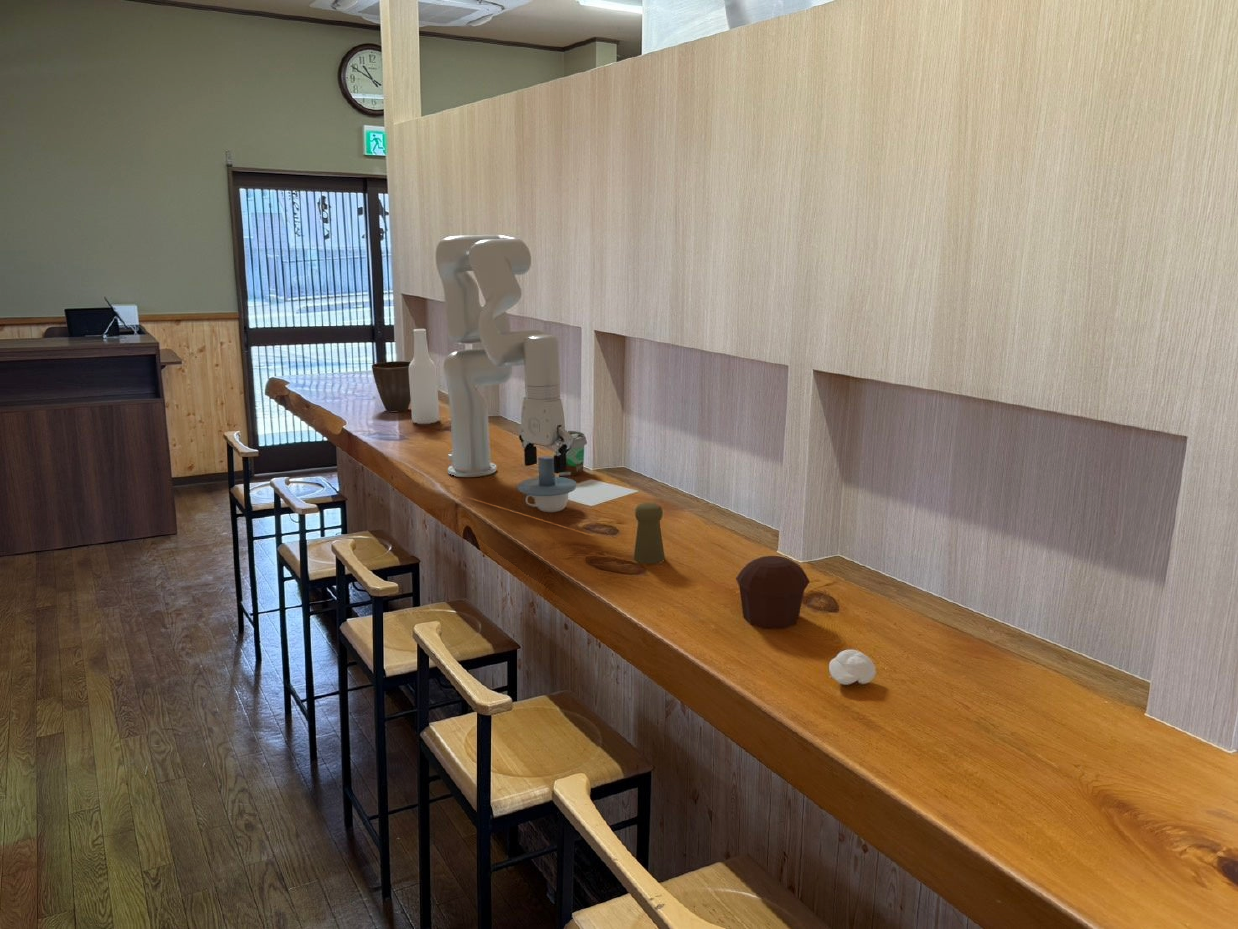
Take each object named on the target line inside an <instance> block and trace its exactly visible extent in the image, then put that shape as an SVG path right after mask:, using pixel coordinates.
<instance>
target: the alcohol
mask: <svg viewBox="0 0 1238 929" xmlns="http://www.w3.org/2000/svg"><path fill="white" fill-rule="evenodd" d="M413 337H414V338H413V339H414V340H413V358H412V360H411V361H410V362H411V363H410V365H409V384H410V398H411V401H410V410H411V412H410V413H411V420H412V422H413V423H414V424H415V423H417V424H416V425H432V424H431V423H433V424H435V423H436V422H437V421H438V422H439V420H440V405H439V404H440V403H439V392H438V390H439V389H438V375H437V374H438V373H437V366H436V363H435V362H434V361H433V360H432V359H431V357H430V353H429V347H428V339H427V330H426V329H425V328H416V329H413ZM438 422H437V423H438ZM437 423H436V424H437Z"/></svg>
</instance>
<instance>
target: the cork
mask: <svg viewBox="0 0 1238 929" xmlns="http://www.w3.org/2000/svg"><path fill="white" fill-rule="evenodd" d="M634 516H635V519H636V520H637V527H636V528H637V529H636V536H635V545H634V553H633V561H634V560H635V561H636V562H638V563H641V564H640V565H643V564H655V565H657V564H656V563H660V562H662V561H663V560H666V559H665V550H664V543H663V535H662V528H661V523H660V522H661V520H662V519H663V508H662V506H661V505H660V504H658V503H657V502H655V503H654V502H643V503H640V504H638V505H636V507H635V511H634ZM635 561H634V562H635ZM636 562H635V563H636ZM638 563H637V564H638ZM662 563H663V562H662ZM660 564H661V563H660Z"/></svg>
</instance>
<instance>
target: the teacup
mask: <svg viewBox="0 0 1238 929" xmlns="http://www.w3.org/2000/svg"><path fill="white" fill-rule="evenodd" d="M529 497H532V498H533V499H534V503H530V502H528V501H529V500H528V499H529ZM568 502H569V500H568V493H566V494H562V495H555V496H533V495H527V494H526V497H525V503H526V504H527V505H528V506H530V507H535V508H537V509H538V510H539V511H541V512H543V513H556V512H560V511H562V510H565V508H566V507H567V505H568Z"/></svg>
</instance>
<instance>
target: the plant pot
mask: <svg viewBox="0 0 1238 929" xmlns="http://www.w3.org/2000/svg"><path fill="white" fill-rule="evenodd" d="M410 363H411V361H407V360H406V361H403V360H397V361H383V362H377V363H373V364H371V371H372V374H373V378H374V383H375V386H376V389H377V392H378V394H379V397H380V400H381V402H382V405H383V407H384V409H385V411H386V410H387V411H386V412H388V411H403V412H406V411H405V410H407V411H408V410H409V408H410V406H411V398H410V384H409V365H410Z"/></svg>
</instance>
